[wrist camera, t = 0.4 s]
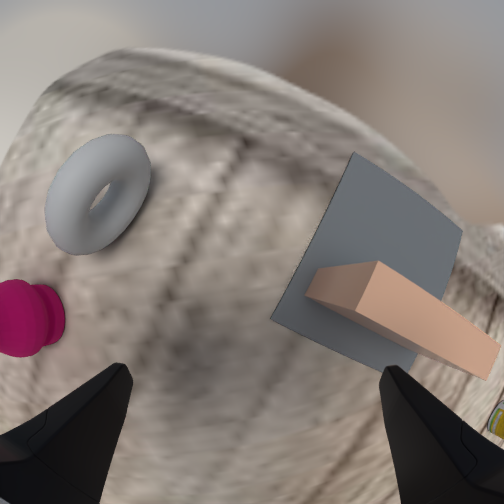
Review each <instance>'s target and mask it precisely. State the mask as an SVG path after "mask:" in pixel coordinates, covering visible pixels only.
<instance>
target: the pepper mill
mask: <svg viewBox="0 0 504 504" xmlns="http://www.w3.org/2000/svg"><path fill="white" fill-rule="evenodd" d="M64 325H65V315H64V310H63V306H62V303H61V301H60V299H59V297H58V295H57V294H56V293H55V291H54V290H53V289H52V288H50V287H49V286H47V285H30V284H29V283H27V282H25V281H23V280H19V279H14V280H7V281H4V282H2V283H0V352H1V353H4V354H6V355H9V356H13V357H28V356H32V355H34V354H36V353H38V352H39V350H40V349H41V348H42V347H43V346H46V345H50V344H53V343H55V342H57V341H58V340H59V339H60V337H61V336H62V333H63V330H64Z"/></svg>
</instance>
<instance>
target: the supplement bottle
mask: <svg viewBox="0 0 504 504" xmlns="http://www.w3.org/2000/svg"><path fill="white" fill-rule="evenodd" d="M488 431H490V432H491V433H493V434H495V435H496V436H498V437H500V438H502V439H504V401H502V402H500V403H499V404H498V406H497V407H496V408H495V410H494V411H493V413H492V415H491V417H490V419H489V422H488Z"/></svg>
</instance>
